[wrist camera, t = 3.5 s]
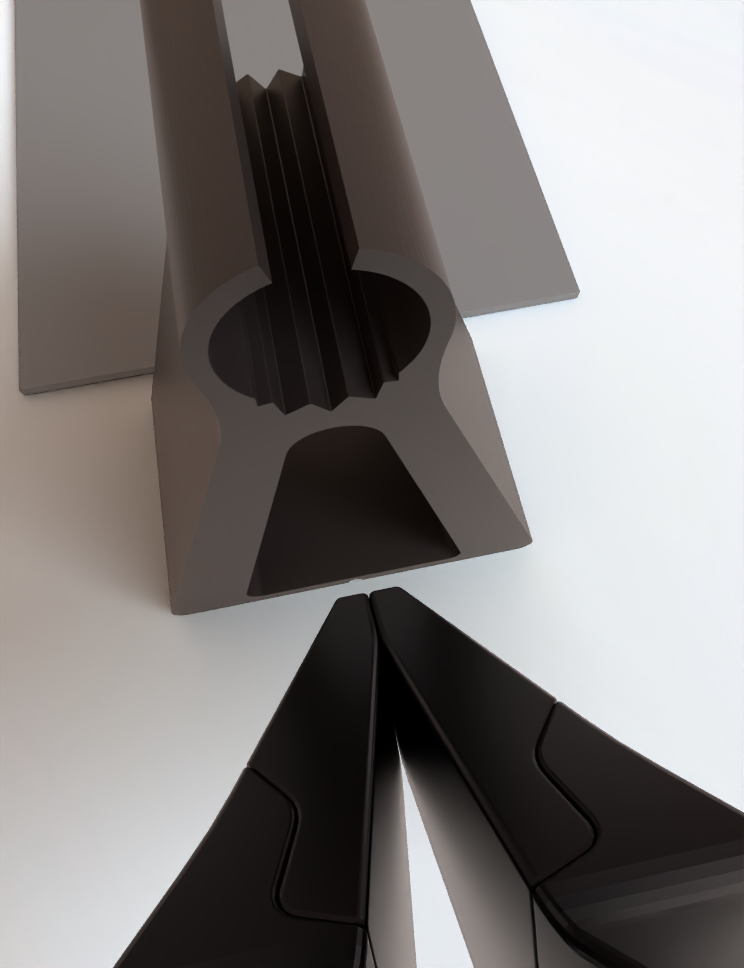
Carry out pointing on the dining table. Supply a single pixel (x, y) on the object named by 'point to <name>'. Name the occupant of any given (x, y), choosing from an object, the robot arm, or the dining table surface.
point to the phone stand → (306, 327)
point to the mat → (137, 187)
